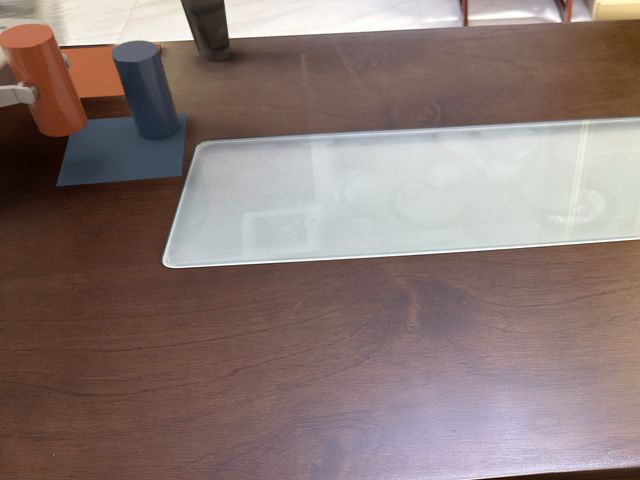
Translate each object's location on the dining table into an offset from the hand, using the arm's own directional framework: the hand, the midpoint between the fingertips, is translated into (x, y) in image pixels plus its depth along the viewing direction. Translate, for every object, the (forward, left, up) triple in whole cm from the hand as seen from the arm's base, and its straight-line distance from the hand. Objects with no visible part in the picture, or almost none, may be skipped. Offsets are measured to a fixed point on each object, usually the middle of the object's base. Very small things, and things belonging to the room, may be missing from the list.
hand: (50, 78), depth 83 cm
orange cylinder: (-1, 0, -6) cm, 6 cm away
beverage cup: (+15, +28, -13) cm, 35 cm away
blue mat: (+4, +4, -13) cm, 14 cm away
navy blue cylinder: (+8, +8, -12) cm, 17 cm away
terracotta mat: (-1, +25, -13) cm, 28 cm away
